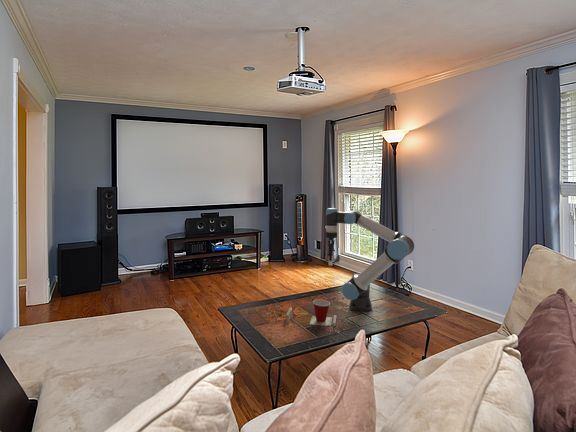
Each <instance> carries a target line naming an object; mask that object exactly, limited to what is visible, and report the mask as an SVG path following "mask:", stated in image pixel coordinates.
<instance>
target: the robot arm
mask: <svg viewBox="0 0 576 432" xmlns="http://www.w3.org/2000/svg"><path fill="white" fill-rule="evenodd" d="M338 224H345V225H353V224H355V225H357V226H358V227H361V228H362V229H364V230H366V231H368V232H370V233H371V234H374V235H376V236H378V237H379V238H381V239H383V240H384V241H387V242H388V245H387V246H386V247H385V248H383V253H382V254H381V255H380V256H378V257H377V258H376V259H375V260H374V261H373V262H372V263H371V264H369V265H368V266H367V267H366V268H365V269H364V270H363V271H361V273H354V274H352V276H351V278H350V279H349V280H348V281H346V282H344V284H342V286H341V293H342V295H343V297H344V298H346V300H349V306H348V307H349V309H350V310H352V311H355V312H369V311H371V310H373V305H372V301H371V297H370V293H371V292H370V290H371V284H372V282H374V281H375V280H377V278H379V276H381V275H382V274H383V273H384V272H385V271H387V270H388V269H389V268H390V267H392V265H393V264H395V265H396V264H399V263H400V262H401V261H402V260H404V259H405V258H406V257H407V256H409V255H411V253H413V252H414V249H415V243H414V241H413V240H412V238H411V237H409V236H408V235H406V234H404V233H402V232H400V231H394V230H392V229H390V228H389V227H386V225H382V224H381V223H379V222H377V221H376V220H374V219H372V218H369V217H368V216H366V215H364V214H362V213H361V212H360V210H356V209H355V210H354V209H353V210H349V211H339V210H338V208H336V207H331V208H330V207H328V208H326V211H325V227H324V228H325V238H327V239H328V240H327V241H328V254H327V256H328V260H327V261H328V266H333V265H334V263H333V262H334V261H335V259H334V258H335V250H336V249H335V248H334V247H335V239H336V238H338Z"/></svg>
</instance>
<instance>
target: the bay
mask: <svg viewBox="0 0 576 432" xmlns="http://www.w3.org/2000/svg"><path fill="white" fill-rule="evenodd" d="M292 316H293V307H289V308H288V311H287V312H286V314H285V323H286V324H289V323H290V321H291V319H292ZM336 324H337V314H334V315H333V317H332V316H326V321H325V322H317V321H316V316H315V315H314V316H313V315H312V316H311V319H310V321H309V325H310V326H311V325H312V326H322V327H323V326H324V327H326V326H327V327H331V326H332V327H336Z"/></svg>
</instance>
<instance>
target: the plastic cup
mask: <svg viewBox="0 0 576 432" xmlns="http://www.w3.org/2000/svg"><path fill="white" fill-rule="evenodd" d="M312 305H313V308H314V314H315V315H314V316H316V321H317V322H325V321H326V317H328V311H329V307H330V305H331V302H330V301H328V300H326V299H314V300H313V301H312Z"/></svg>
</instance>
